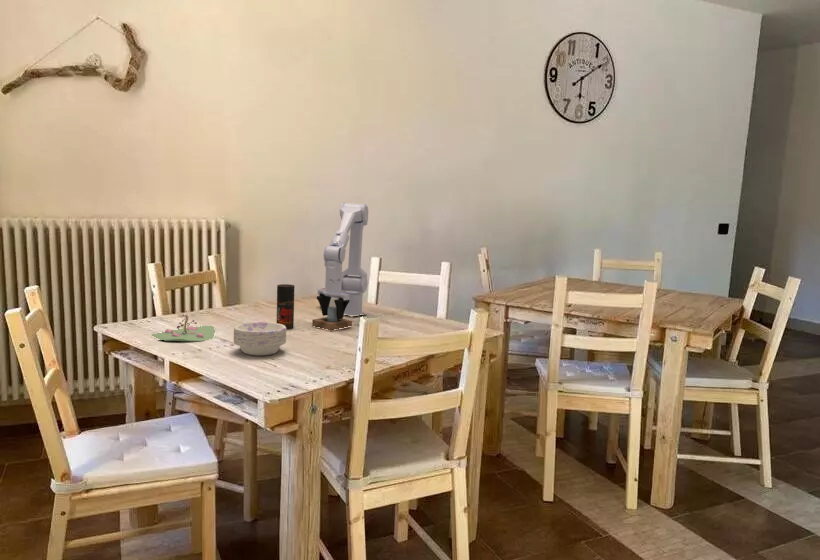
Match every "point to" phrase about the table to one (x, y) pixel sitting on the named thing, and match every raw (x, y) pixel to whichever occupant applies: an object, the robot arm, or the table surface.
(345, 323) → the socket block
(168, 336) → the plant
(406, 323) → the table surface
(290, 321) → the deodorant
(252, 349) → the paper bowls
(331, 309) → the peg
